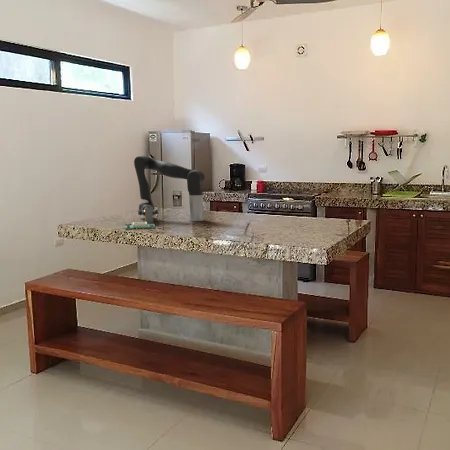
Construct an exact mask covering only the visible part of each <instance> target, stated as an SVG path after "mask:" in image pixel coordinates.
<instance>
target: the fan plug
mask: <svg viewBox="0 0 450 450" xmlns="http://www.w3.org/2000/svg"><path fill="white" fill-rule="evenodd" d="M144 210H145V216H144V222H147V223H154V215H153V207H152V206H146V207H145V209H144Z"/></svg>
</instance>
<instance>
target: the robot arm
mask: <svg viewBox="0 0 450 450" xmlns="http://www.w3.org/2000/svg"><path fill="white" fill-rule="evenodd" d="M133 165H134V168H135V173H136V177H137V181H138V187H139V197H140V199H141V200H144V201H147V202H142V203H140V204H139V205H138V210H137V215H138V216H144V217H145V210H144V209H145V207H146V206H152V207H153V216H154V215H156V216H157V215H158V214H160V213H159V212H160V211H159V210H160V209H155V206H154V203H153V200H152V197H151V187H150V184H149V182H148V180H147V177H146V174H145V170H152V171H156V172H157V173H159V174H160V175H163V176H164V177H168V178H173V179H181V180H186V185H187V186H186V187H187V192H188V208H189V210H188V212H189V216H188V217H189V221H190V222H203V221H205V216H204V215H205V210H204V209H205V208H204V196H203V195H204V191H203V190H202V189H201V184H202V183H203V182H204V181H205V174H204V172H203V171H201V170H197V169H191V168H186V167H183V166H181V165H178V164H175V163H171V162H168V161H167V162H166V161H163V160H157V159H155V158H153V157H150V156H148V155H137V156H136V157H135V158H134V160H133Z"/></svg>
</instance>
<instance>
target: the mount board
mask: <svg viewBox="0 0 450 450" xmlns="http://www.w3.org/2000/svg"><path fill="white" fill-rule="evenodd" d="M134 228H153V229H156V225H155V223H154V222H153V223H147V222H146V221H137V222H136V221H134V222H129V223H127V222H126V223H124V230H125V229H131V230H135V229H134Z"/></svg>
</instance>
